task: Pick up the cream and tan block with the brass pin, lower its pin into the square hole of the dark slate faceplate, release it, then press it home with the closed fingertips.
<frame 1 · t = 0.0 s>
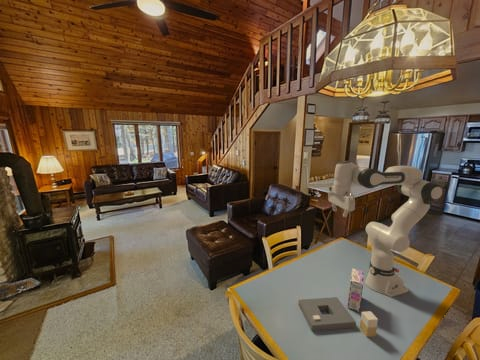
hand: (339, 213, 115), 48 cm above the table, fingers open, 8 cm apart
socket: (324, 315, 104), on the table
candy box: (354, 302, 113), on the table
cream and tan block: (367, 332, 95), on the table
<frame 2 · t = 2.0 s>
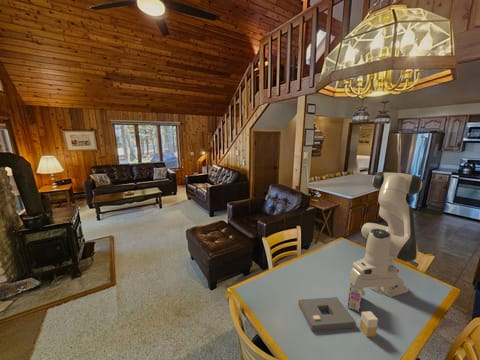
hand: (371, 293, 92), 20 cm above the table, fingers open, 8 cm apart
nothing on the table moved.
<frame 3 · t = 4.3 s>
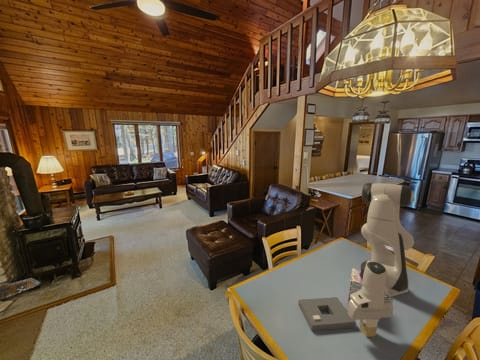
hand: (368, 324, 94), 4 cm above the table, fingers closed on cream and tan block, 4 cm apart
cream and tan block: (367, 332, 95), on the table, touching gripper
everything else where it was.
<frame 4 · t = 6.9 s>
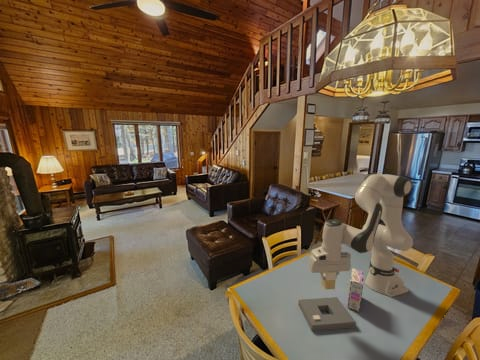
hand: (328, 278, 100), 21 cm above the table, fingers closed on cream and tan block, 4 cm apart
cream and tan block: (327, 286, 101), point 17 cm above the table, touching gripper
everything else where it was.
when the fingers open (5 cm above the table, at t = 9.9 s): cream and tan block stays where it is, resting in socket.
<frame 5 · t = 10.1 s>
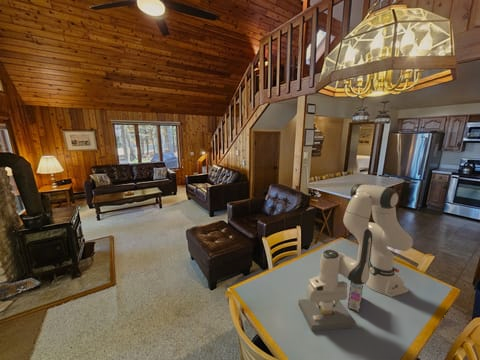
hand: (325, 306, 103), 5 cm above the table, fingers open, 7 cm apart
cream and tan block: (325, 315, 104), resting in socket
everything else where it was.
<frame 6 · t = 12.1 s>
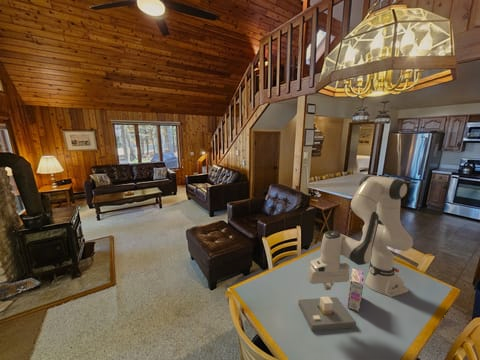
hand: (327, 289, 101), 15 cm above the table, fingers closed
nothing on the table moved.
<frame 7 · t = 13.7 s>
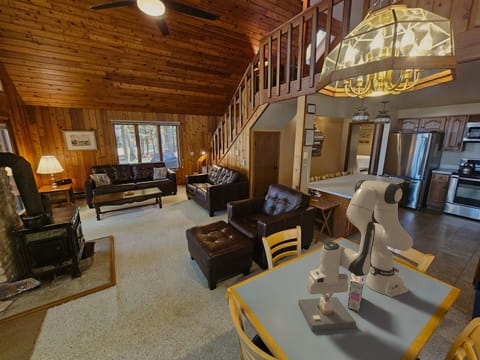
hand: (326, 299, 102), 9 cm above the table, fingers closed
nothing on the table moved.
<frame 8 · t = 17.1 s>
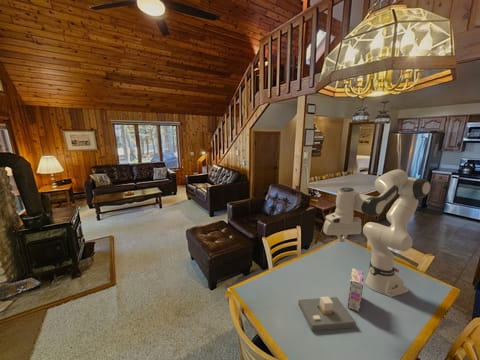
hand: (341, 241, 111), 34 cm above the table, fingers closed
nothing on the table moved.
at the end: cream and tan block 0.1 cm off-centre on the socket, point 0.0 cm above the socket's base; cream and tan block tilted 0°; the gripper is holding nothing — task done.
